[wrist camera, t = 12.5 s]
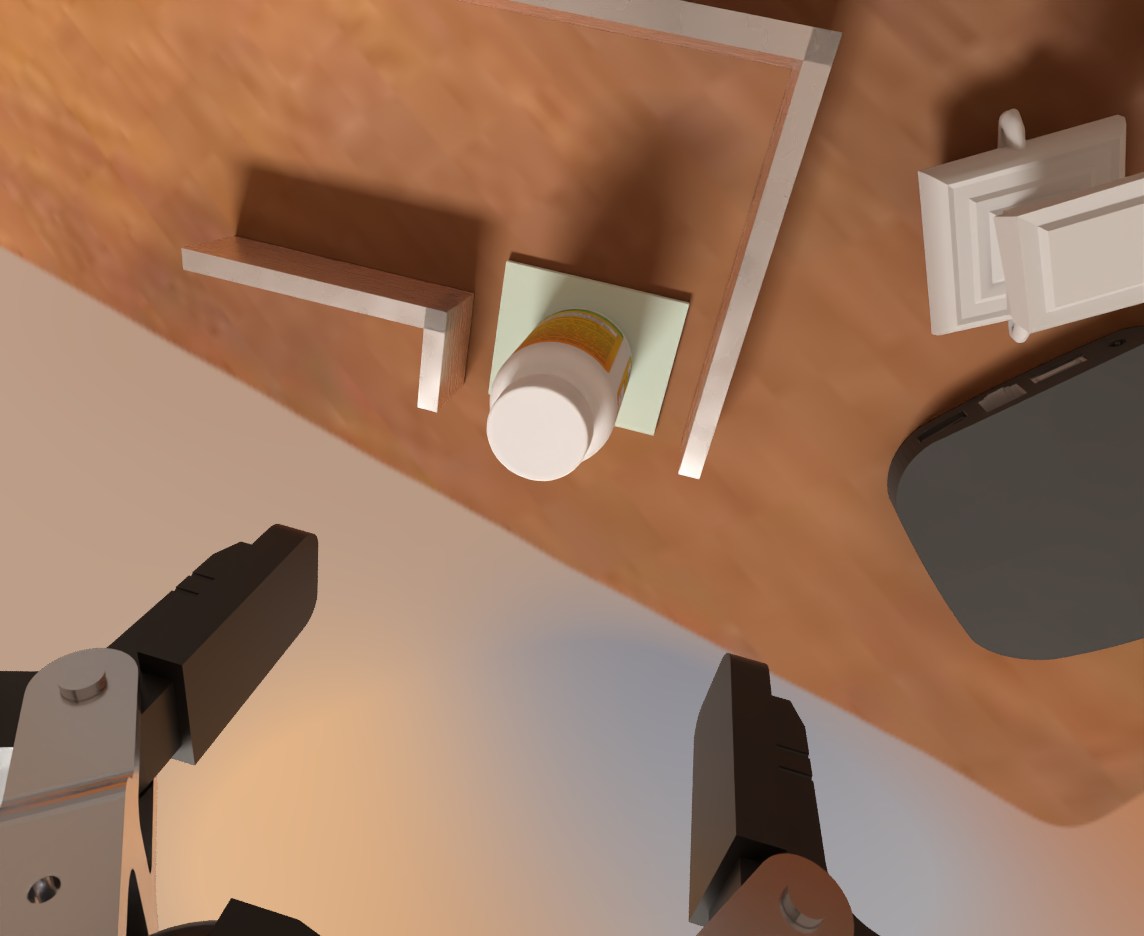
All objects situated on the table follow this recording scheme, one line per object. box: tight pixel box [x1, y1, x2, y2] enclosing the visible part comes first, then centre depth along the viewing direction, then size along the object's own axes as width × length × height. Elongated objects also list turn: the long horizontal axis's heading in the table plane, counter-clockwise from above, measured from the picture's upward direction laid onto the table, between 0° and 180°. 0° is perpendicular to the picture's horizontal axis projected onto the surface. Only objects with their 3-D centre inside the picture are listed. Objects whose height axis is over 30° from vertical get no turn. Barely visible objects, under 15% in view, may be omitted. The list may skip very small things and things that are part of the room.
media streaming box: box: [887, 326, 1144, 660], centre depth 32 cm, size 15×15×3 cm
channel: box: [181, 0, 842, 479], centre depth 30 cm, size 18×26×4 cm
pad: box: [488, 260, 689, 435], centre depth 34 cm, size 7×9×1 cm
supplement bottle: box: [487, 308, 632, 481], centre depth 30 cm, size 5×5×10 cm
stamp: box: [918, 109, 1144, 343], centre depth 25 cm, size 9×7×8 cm
